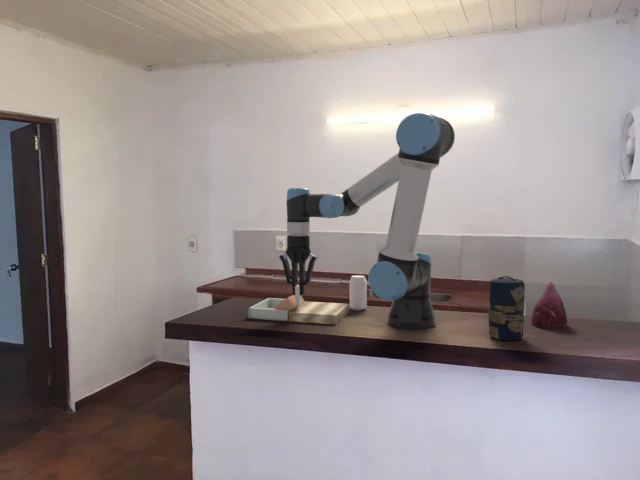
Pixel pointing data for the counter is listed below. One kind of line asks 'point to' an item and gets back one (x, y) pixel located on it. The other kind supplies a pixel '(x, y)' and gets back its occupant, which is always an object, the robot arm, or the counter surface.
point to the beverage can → (358, 292)
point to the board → (319, 312)
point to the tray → (268, 310)
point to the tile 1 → (287, 304)
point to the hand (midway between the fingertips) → (298, 304)
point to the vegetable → (549, 310)
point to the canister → (506, 308)
